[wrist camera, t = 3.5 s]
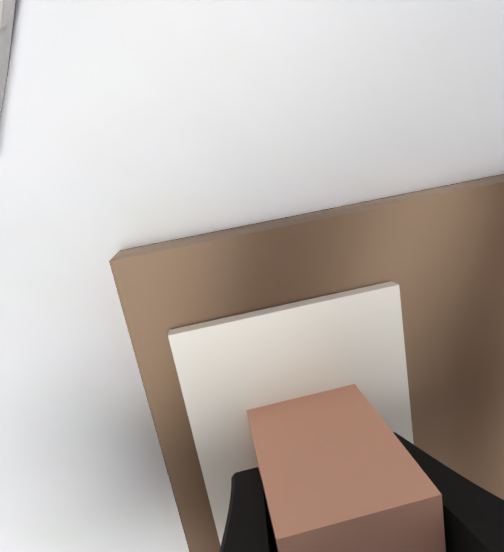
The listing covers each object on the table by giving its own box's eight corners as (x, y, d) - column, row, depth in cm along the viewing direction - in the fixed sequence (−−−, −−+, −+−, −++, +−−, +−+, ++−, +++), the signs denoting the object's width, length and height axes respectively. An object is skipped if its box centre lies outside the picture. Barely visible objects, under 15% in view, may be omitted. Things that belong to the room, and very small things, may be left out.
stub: (392, 280, 11) (518, 346, 7) (417, 545, 13) (523, 718, 9) (168, 330, 10) (151, 435, 6) (235, 596, 13) (256, 807, 8)
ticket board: (744, 126, 13) (892, 112, 10) (702, 463, 16) (807, 521, 14) (120, 250, 11) (96, 274, 9) (214, 602, 15) (219, 702, 12)
